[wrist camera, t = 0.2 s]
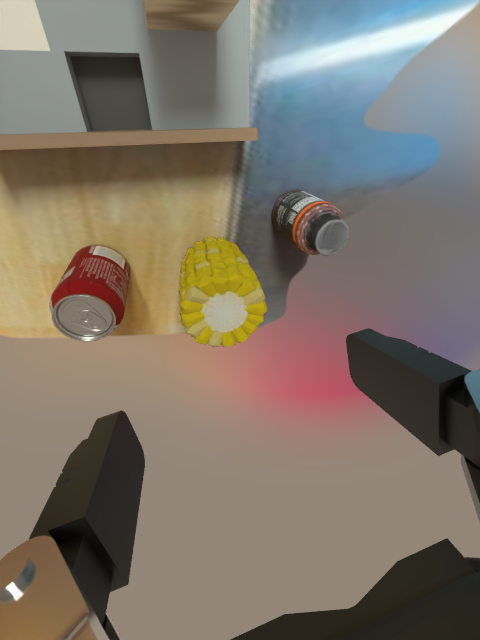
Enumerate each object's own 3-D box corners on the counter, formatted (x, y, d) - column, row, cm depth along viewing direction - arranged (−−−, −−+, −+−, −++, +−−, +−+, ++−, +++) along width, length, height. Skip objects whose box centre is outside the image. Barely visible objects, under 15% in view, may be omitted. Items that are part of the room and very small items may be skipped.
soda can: (95, 231, 33) (73, 275, 24) (140, 267, 37) (136, 317, 28) (61, 267, 35) (27, 322, 25) (108, 298, 39) (94, 356, 29)
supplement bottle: (310, 227, 40) (354, 258, 31) (272, 237, 40) (306, 271, 31) (311, 183, 36) (361, 204, 28) (269, 193, 36) (306, 217, 27)
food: (219, 296, 45) (165, 262, 40) (271, 247, 39) (216, 200, 34) (220, 374, 34) (147, 340, 29) (292, 322, 28) (217, 269, 23)
